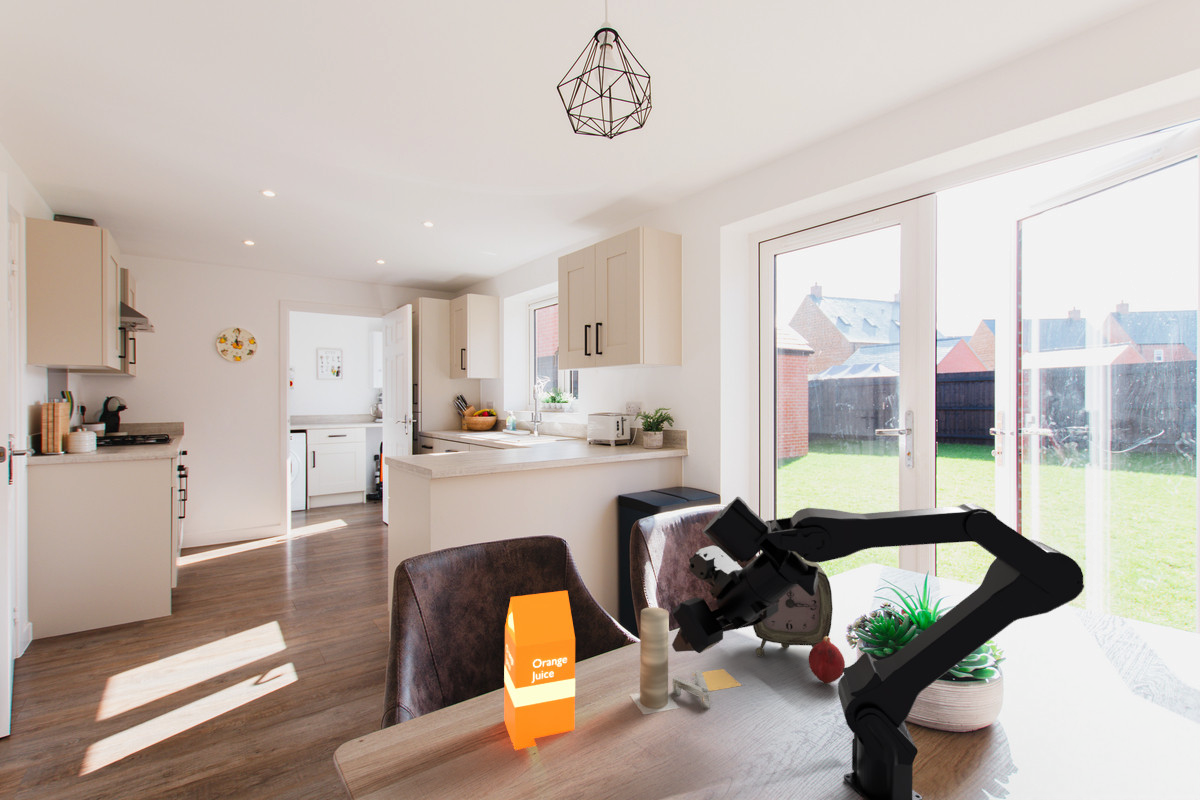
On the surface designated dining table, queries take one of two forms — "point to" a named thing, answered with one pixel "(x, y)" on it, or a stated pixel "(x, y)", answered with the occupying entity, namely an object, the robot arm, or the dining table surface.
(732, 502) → the robot arm
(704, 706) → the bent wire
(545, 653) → the orange juice
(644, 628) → the peg
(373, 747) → the dining table surface
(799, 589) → the tabletop clock
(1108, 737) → the dining table surface
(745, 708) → the dining table surface
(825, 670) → the onion
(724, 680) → the board
